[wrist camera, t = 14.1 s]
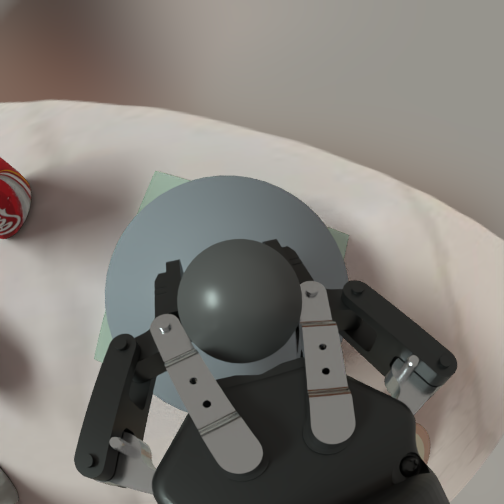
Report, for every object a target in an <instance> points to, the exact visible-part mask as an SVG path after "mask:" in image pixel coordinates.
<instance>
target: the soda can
mask: <svg viewBox="0 0 504 504" xmlns="http://www.w3.org/2000/svg"><path fill="white" fill-rule="evenodd" d="M30 203H31V189H30V186H29V183H28V182H27V180H26V179H25V178H24V177H23V176H22V175H21V174H20V173H19V172H18V171H17V170H16V169H14V168H13V167H12V166H11V165H9V164H8V163H7V162H6V161H4V160H3V159H2V158H1V157H0V238H1V239H7V238H10V237H11V236H13V235H14V234H15V233H17V231H18V230H19V229H20V228H21V226H22V225H23V223H24V221H25V219H26V217H27V215H28V212H29V208H30Z"/></svg>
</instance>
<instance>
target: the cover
mask: <svg viewBox="0 0 504 504" xmlns="http://www.w3.org/2000/svg"><path fill="white" fill-rule="evenodd" d="M273 239H277V240H278V242H279V243H280V245H281V247H286V246H288V247H290V248H291V249H293V250H294V251H295V252H296V253H297V255H298V256H299V258H300V259H301V261H302V263H303V264H304V266H305V267H306V269H307V270H308V272H309V273H310V275H311V277H312V278H313V280H314V281H316V282H319V283H321V284H322V285H323V286H324V287H325V288H326V289H343V287H344V285H345V284H346V283H347V282H348V276H347V270H346V267H345V263H344V260H343V257H342V254H341V252H340V250H339V248H338V245H337V243H336V241H335V239H334V238H333V236H332V234H331V233H330V231H329V230H328V228H327V227H326V225H325V224H324V223H323V222H322V220H321V219H320V218H319V217H318V216H317V215H316V214H315V213H314V212H313V211H312V210H311V209H310V208H309V207H308V206H307V205H306V204H305V203H303V202H302V201H301V200H299V199H298V198H297V197H295V196H294V195H292V194H290V193H289V192H287V191H285V190H283V189H281V188H280V187H277V186H275V185H272V184H270V183H267V182H264V181H261V180H257V179H253V178H248V177H241V176H213V177H205V178H200V179H196V180H192V181H189V182H186V183H183V184H181V185H179V186H176V187H174V188H172V189H170V190H168V191H166V192H165V193H163V194H161V195H159V196H158V197H157V198H155V199H154V200H153V201H151V202H150V203H149V204H148V205H146V206H145V207H144V208H143V209H142V210H141V211H140V212H139V213H138V214H137V215H136V216H135V217H134V219H133V220H132V221H131V223H130V224H129V225H128V226H127V228H126V229H125V231H124V232H123V234H122V236H121V238H120V239H119V241H118V243H117V245H116V248H115V250H114V252H113V255H112V257H111V261H110V264H109V268H108V272H107V278H106V287H105V308H106V315H107V321H108V326H109V329H110V332H111V336H112V339H113V338H115V337H116V336H118V335H120V334H130V335H132V336H133V337H134V338H135V337H137V336H139V335H141V334H143V333H145V332H146V331H148V330H149V329H150V325H151V323H152V321H153V320H154V319H155V295H154V290H155V289H154V284H155V279H156V277H157V275H158V274H160V273H164V272H166V262H169V261H174V260H178V259H180V261H181V265H182V268H183V272H184V274H183V276H182V279H181V281H180V285H179V289H178V296H177V306H178V313H179V317H180V321H181V324H182V326H183V328H184V330H185V332H186V334H187V335H188V337H189V338H190V339H191V341H192V342H191V343H192V344H193V346H194V348H195V349H196V350H197V351H198V352H199V354H200V356H201V357H202V359H203V361H204V362H205V364H206V366H207V367H208V369H209V370H210V372H211V374H212V375H213V377H214V378H215V380H217V379H221V378H226V377H230V376H234V375H260V374H263V373H265V372H266V371H268V370H270V369H272V368H274V367H276V366H277V365H279V364H281V363H284V362H287V361H290V360H294V359H296V344H295V329H296V327H297V325H298V322H299V320H300V316H301V311H302V292H301V286H300V283H299V280H298V278H297V275H296V273H295V271H294V270H293V268H292V266H291V265H290V264H289V262H288V261H287V260H286V259H285V258H284V257H283V256H282V255H281V254H280V253H279V252H277V251H276V250H275V249H273V248H271V247H270V246H268V245H266V244H263V243H262V242H264V241H268V240H273ZM339 338H340V343H341V342H342V339H343V337H342V336H341V335H340V334H339ZM153 394H154V395H156V396H157V397H158V398H160V399H161V400H163V401H164V402H166V403H168V404H170V405H172V406H174V407H176V408H178V409H180V410H182V411H185V412H188V411H187V409H186V407H185V405H184V403H183V402H182V400H181V398H180V396H179V394H178V392H177V390H176V388H175V386H174V384H173V382H172V380H171V378H170V376H169V374H168V372H167V371H166V372H164V373H162V374H160V375H158V376H157V378H156V382H155V386H154V390H153Z"/></svg>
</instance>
